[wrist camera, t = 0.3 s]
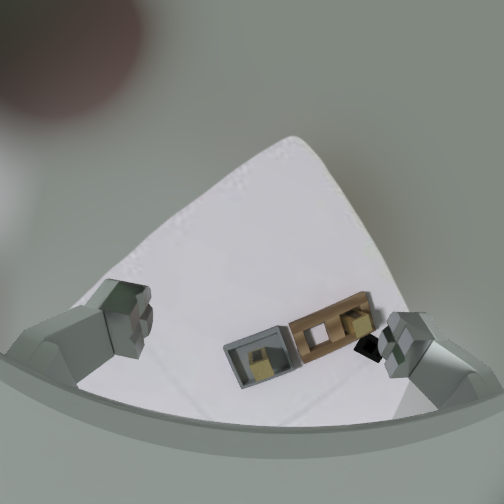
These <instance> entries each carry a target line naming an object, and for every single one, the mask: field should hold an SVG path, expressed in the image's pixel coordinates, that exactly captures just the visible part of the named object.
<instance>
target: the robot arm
mask: <svg viewBox="0 0 504 504" xmlns="http://www.w3.org/2000/svg"><path fill="white" fill-rule="evenodd" d="M150 299H151V289H150V288H149V286H145V285H140V284H135V283H130V282H125V281H119V280H114V279H105V280H104V282H103V283H102V284H101V285H100V287H99V288H98V289H97V290H96V292H95V293H94V294H93V295H92V297H91V298H90V299H89V300H88V302H87V303H86V304H85V306H82V305H80V306H77V307H75V308H73V309H70V310H68V311H66V312H64V313H62V314H59V315H57V316H55V317H52V318H50V319H48V320H46V321H43V322H41V323H39V324H37V325H34V326H32V327H30V328H28V329H26V330H24V331H23V332H22V333H21V334H20V336H19V337H18V338H17V340H16V341H15V342H14V343H13V345H12V346H11V347H10V349H9V350H8V351H7V353H6V354H5V355H4V354H2V353H0V504H504V389H503V388H502V386H501V384H500V383H499V381H498V379H497V378H496V376H495V374H494V373H493V371H492V369H491V368H490V367H488V366H487V365H485V364H484V363H483V362H481V361H480V360H478V359H477V358H475V357H474V356H472V355H471V354H470V353H468V352H467V351H465V350H464V349H462V348H461V347H459V346H458V345H457V344H455V343H454V342H452V341H451V340H449V339H448V340H446V339H445V337H444V335H443V334H442V332H441V331H440V330H439V328H438V326H437V325H436V324H435V322H434V321H433V319H432V318H431V316H430V315H429V314H428V313H426V312H392V313H391V314H390V315H389V317H388V319H387V324H388V326H387V327H386V328H385V329H383V330H382V332H381V334H380V336H379V340H378V350H379V353H380V355H381V356H382V357H383V358H384V359H385V360H386V362H385V364H384V365H385V367H386V370H387V372H388V375H389V377H390V378H404V377H409V379H410V380H411V381H412V382H413V383H414V384H415V385H416V386H417V387H418V388H419V390H421V391H422V392H423V394H425V396H426V397H427V398H428V399H429V400H430V401H431V402H432V403H433V404H434V405H435V406H436V407H437V408H438V409H439V410H438V411H434V412H429V413H425V414H420V415H415V416H410V417H405V418H400V419H393V420H386V421H379V422H372V423H363V424H353V425H340V426H322V427H271V426H253V425H240V424H230V423H221V422H213V421H206V420H199V419H193V418H187V417H181V416H176V415H171V414H166V413H161V412H157V411H152V410H148V409H144V408H140V407H136V406H132V405H128V404H125V403H121V402H118V401H114V400H111V399H108V398H104V397H101V396H98V395H95V394H92V393H89V392H87V391H84V390H81V389H79V388H78V386H77V383H78V382H79V381H81V380H82V379H83V378H85V377H86V376H87V375H89V374H90V373H91V372H93V371H94V370H96V369H97V368H98V367H100V366H101V365H102V364H104V363H105V362H106V361H108V360H109V359H110V358H112V357H113V356H114V354H115V355H120V356H124V357H129V358H134V359H139V357H140V354H141V352H142V350H143V347H144V339H143V338H145V337H147V336H148V335H149V333H150V331H151V328H152V323H153V308H152V307H151V306H150V304H149V301H150Z"/></svg>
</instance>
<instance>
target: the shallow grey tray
mask: <svg viewBox="0 0 504 504" xmlns="http://www.w3.org/2000/svg"><path fill="white" fill-rule="evenodd" d="M262 347H265V350H266V352H267V355H268V357H269V360H270V362H271V365H272V368H273V371H274V374H275V375H274V376H271V377H268V378H266V379H263V380H260V381H257V382H256V380H255V378H254V375H253V373H252V371H251V369H250V366H249V359H248V353H249V352H251V351H254V350H257V349H260V348H262ZM223 350H224V352H225V354H226V356H227V359H228V361H229V363H230V365H231V368H232V370H233V372H234V374H235V376H236V378H237V381H238V383H239V385H240V387H241V389H244V388H247V387H250V386H253V385H256V384H259V383H261V382H264V381H267V380H270V379H272V378H275V377H278V376H280V375H283V374H286V373H288V372H291V371H293V370H295V369H294V366H293V364H292V361H291V358H290V356H289V353H288V351H287V348H286V345H285V343H284V340H283V337H282V335H281V332H280V330H279V327H278V326H275V327H272V328H270V329H267V330H265V331H262V332H259V333H257V334H254V335H251V336H249V337H246V338H243V339H240V340H238V341H235V342H232V343H229V344H226V345H224V347H223Z"/></svg>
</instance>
